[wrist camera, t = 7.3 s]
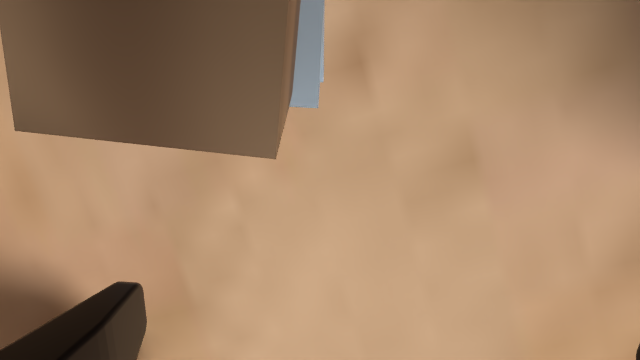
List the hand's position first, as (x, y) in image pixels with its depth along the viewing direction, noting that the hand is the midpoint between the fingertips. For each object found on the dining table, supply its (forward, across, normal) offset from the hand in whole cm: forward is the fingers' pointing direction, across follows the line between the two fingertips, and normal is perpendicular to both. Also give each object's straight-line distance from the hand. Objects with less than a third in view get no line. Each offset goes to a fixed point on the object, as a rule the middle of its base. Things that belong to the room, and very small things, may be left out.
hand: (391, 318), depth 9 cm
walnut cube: (+7, +5, -5) cm, 10 cm away
